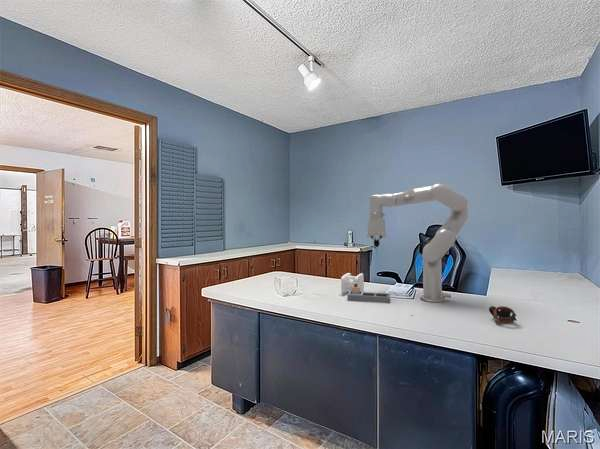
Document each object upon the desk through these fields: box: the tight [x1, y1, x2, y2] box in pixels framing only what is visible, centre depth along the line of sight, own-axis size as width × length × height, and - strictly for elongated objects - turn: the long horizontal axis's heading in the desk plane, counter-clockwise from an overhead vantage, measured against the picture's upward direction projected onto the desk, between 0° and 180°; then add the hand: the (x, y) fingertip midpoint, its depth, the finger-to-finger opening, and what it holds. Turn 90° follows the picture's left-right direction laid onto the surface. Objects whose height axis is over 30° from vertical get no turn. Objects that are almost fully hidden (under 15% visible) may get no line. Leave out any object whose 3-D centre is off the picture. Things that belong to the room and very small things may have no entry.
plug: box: [352, 284, 360, 294], centre depth 174 cm, size 4×4×8 cm
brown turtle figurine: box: [488, 305, 518, 325], centre depth 138 cm, size 12×10×8 cm
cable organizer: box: [340, 272, 365, 295], centre depth 193 cm, size 15×11×12 cm
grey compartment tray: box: [346, 290, 391, 304], centre depth 173 cm, size 22×8×5 cm, turn 73°
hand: (376, 246), depth 185 cm, fingers closed
